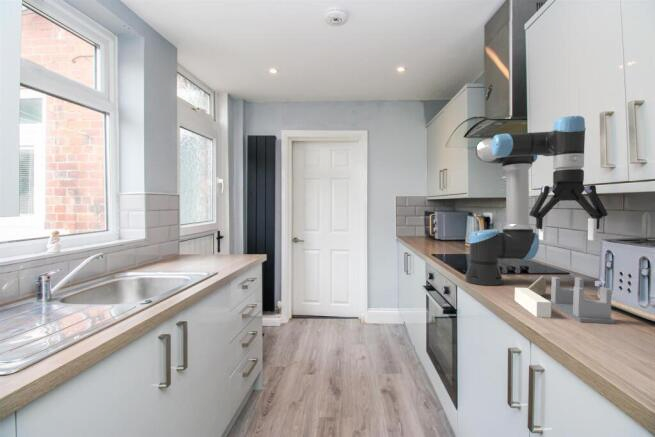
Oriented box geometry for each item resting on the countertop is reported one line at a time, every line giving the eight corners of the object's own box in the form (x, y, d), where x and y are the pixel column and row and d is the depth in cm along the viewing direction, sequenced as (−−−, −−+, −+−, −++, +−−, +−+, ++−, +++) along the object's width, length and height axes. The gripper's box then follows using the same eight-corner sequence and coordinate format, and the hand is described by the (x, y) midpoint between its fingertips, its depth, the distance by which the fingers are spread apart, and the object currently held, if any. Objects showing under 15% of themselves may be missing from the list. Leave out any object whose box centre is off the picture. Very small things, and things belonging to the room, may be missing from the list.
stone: (514, 295, 131) (524, 273, 133) (531, 304, 130) (541, 282, 132) (526, 293, 121) (537, 269, 123) (545, 303, 120) (556, 279, 122)
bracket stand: (548, 302, 118) (548, 275, 117) (576, 303, 116) (577, 276, 116) (580, 322, 98) (580, 290, 98) (615, 323, 96) (615, 291, 96)
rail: (514, 301, 120) (514, 287, 120) (526, 301, 120) (527, 287, 120) (536, 317, 103) (536, 301, 103) (550, 318, 102) (551, 302, 102)
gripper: (528, 169, 98) (527, 241, 99) (624, 167, 94) (622, 241, 95) (518, 171, 106) (517, 238, 107) (606, 169, 102) (604, 239, 103)
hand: (566, 240), depth 101 cm, fingers open, 13 cm apart
